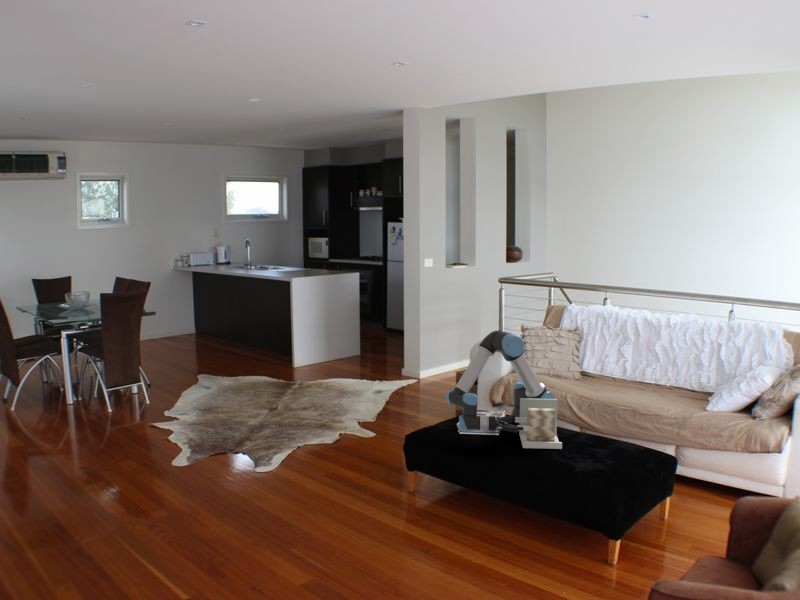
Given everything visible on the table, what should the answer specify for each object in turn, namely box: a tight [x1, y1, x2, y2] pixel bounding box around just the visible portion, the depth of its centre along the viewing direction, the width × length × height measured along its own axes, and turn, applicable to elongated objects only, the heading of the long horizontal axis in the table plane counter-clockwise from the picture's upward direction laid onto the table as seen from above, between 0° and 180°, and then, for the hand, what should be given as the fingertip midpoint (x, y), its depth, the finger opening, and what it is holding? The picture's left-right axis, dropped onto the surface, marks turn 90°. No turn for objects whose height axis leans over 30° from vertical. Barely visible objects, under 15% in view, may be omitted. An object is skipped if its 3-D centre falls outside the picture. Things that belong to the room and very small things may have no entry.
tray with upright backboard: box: [518, 398, 563, 450], centre depth 380 cm, size 20×22×21 cm
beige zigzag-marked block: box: [527, 408, 555, 441], centre depth 379 cm, size 14×4×18 cm, turn 86°
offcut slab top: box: [536, 437, 555, 442], centre depth 374 cm, size 9×3×2 cm, turn 86°
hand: (528, 424), depth 379 cm, fingers open, 13 cm apart
